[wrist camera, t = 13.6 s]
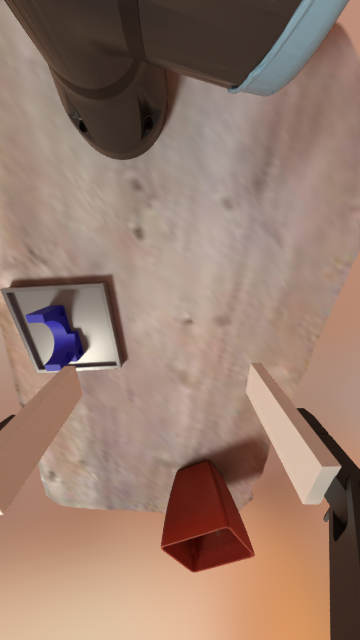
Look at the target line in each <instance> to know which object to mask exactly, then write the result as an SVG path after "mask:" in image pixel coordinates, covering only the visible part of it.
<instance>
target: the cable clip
mask: <svg viewBox="0 0 360 640" xmlns="http://www.w3.org/2000/svg"><path fill="white" fill-rule="evenodd" d="M25 316H26V319H27V322H28V323H44V324H45V325H47V326H48V327H49V328H50V330H51V332H52V334H53V337H54V350H53V353H52V356H51V358H50V359H49V361H48V362H47V363H46V364H45V365H44V366H45V368H46V371H60V370H61V369H62V368H63V367H64V366H67V365H68V364H69V363H70V362H77V361H78V360H79V359H80V358H81V357H82V356H83V355H84V351H83V348H82V344H81V341H80V337H79V333H78V331H71V330H70V326H69V323H68V319H67V316H66V312H65V309H64V306H63V305H56V306H47V307H45V308H42V309H39V310H37V311H34V312H32V313H29V314H27V315H25Z"/></svg>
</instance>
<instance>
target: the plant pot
mask: <svg viewBox="0 0 360 640" xmlns="http://www.w3.org/2000/svg"><path fill="white" fill-rule="evenodd" d="M161 549H162V550H163V551H164V552H166V553H167V554H168V555H170V556H171V557H172V558H174V559H175V560H176V561H178V562H179V563H180V564H182V565H183V566H184V567H186V568H187V569H188V570H190V571H191V572H199V571H203V570H207V569H210V568H214V567H218V566H221V565H225V564H228V563H233V562H236V561H240V560H243V559H247V558H251V557H253V556H254V555H255V554H254V551H253V548H252V545H251V542H250V540H249V537H248V534H247V531H246V529H245V527H244V524H243V521H242V519H241V516H240V514H239V511H238V509H237V507H236V505H235V502H234V500H233V498H232V496H231V494H230V491H229V489H228V487H227V485H226V483H225V481H224V479H223V477H222V476H221V475H220V473H219V472H218V471H217V469H216V468H215V467H214V465H213V464H212V463H211V461H209V460H206V461H204V462H201V463H198V464H196V465H193V466H190V467H188V468H185V469H182V470H180V471H177V473H176V476H175V479H174V482H173V486H172V490H171V493H170V498H169V502H168V506H167V511H166V516H165V522H164V528H163V535H162V542H161Z"/></svg>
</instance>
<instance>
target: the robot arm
mask: <svg viewBox="0 0 360 640" xmlns="http://www.w3.org/2000/svg"><path fill="white" fill-rule="evenodd" d="M4 1H5V2H6V3H7V5H8V6H9V8H10V9H11V11H12V12H13V14H14V15H15V17H16V18H17V20H18V21H19V22H20V24H21V25H22V27H23V28H24V30H25V31H26V33H27V34H28V36H29V37H30V38H31V40H32V41H33V43H34V44H35V46H36V47H37V49H38V50H39V52H40V53H41V55H42V56H43V57H44V59H45V60H46V62H47V63H48V66H49V69H50V71H51V74H52V77H53V80H54V83H55V85H56V88H57V91H58V94H59V97H60V99H61V102H62V104H63V107H64V109H65V111H66V113H67V114H68V116H69V118H70V120H71V121H72V123H73V124H74V126H75V127H76V129H77V130H78V131H79V132H80V134H81V135H82V136H83V138H84V139H85V140H86V141H87V142H88V143H89V144H90V145H91V146H92V147H93V148H94V149H96V150H97V151H98V152H100V153H101V154H103V155H105V156H107V157H110V158H113V159H119V160H127V159H132V158H135V157H138V156H140V155H142V154H143V153H145V152H146V151H147V150H148V149H149V148H150V147H151V146H152V145H153V144H154V142H155V141H156V139H157V138H158V136H159V134H160V132H161V130H162V127H163V124H164V120H165V116H166V110H167V80H166V70H169V71H173V72H176V73H179V74H182V75H185V76H188V77H192V78H195V79H198V80H201V81H204V82H207V83H211V84H214V85H217V86H220V87H223V88H227V90H228V92H230V93H232V94H236V93H238V92H245V93H250V94H254V95H259V96H270V95H273V94H275V93H276V92H278V91H279V90H280V89H282V88H283V87H285V86H286V85H287V84H288V83H289V82H291V81H292V80H293V79H294V77H295V76H296V75H297V74H298V73H299V72H300V71H301V69H302V68H303V67H304V66H305V65H306V63H307V62H308V61H309V59H310V58H311V57H312V55H313V54H314V53H315V51H316V50H317V49H318V47H319V46H320V44H321V43H322V41H323V40H324V39H325V37H326V36H327V34H328V33H329V31H330V30H331V28H332V27H333V25H334V24H335V22H336V20H337V19H338V17H339V15H340V14H341V12H342V11H343V9H344V8H345V6H346V4H347V3H348V1H349V0H4ZM165 69H166V70H165ZM246 393H247V395H248V397H249V399H250V401H251V403H252V405H253V407H254V409H255V411H256V413H257V415H258V417H259V419H260V421H261V423H262V425H263V426H264V428H265V430H266V432H267V434H268V436H269V438H270V440H271V442H272V444H273V446H274V448H275V450H276V452H277V454H278V456H279V458H280V460H281V462H282V464H283V466H284V468H285V470H286V471H287V473H288V475H289V477H290V479H291V481H292V483H293V485H294V487H295V489H296V491H297V493H298V495H299V497H300V499H301V501H302V503H303V504H320V503H321V501H322V500H323V498H324V497H325V498H326V500H327V502H328V503H329V505H330V507H329V509H328V511H327V512H326V514H325V516H324V521H325V522H327V521H328V520H329V554H330V555H329V559H330V630H331V631H330V634H331V640H360V469H359V468H358V467H357V466H356V465H355V464H354V462H353V461H352V460H351V459H350V458H349V457H348V455H347V454H346V453H345V452H344V451H343V450H342V449H341V447H340V446H339V445H338V444H337V443H336V441H335V440H334V439H333V438H332V437H331V436H330V435H329V434H328V432H327V431H326V430H325V429H324V428H323V427H322V425H321V424H320V423H319V421H318V420H317V419H316V418H315V417H314V416H313V415H312V414H310V413H309V412H308V411H307V410H305V409H304V408H295V406H294V405H293V404H292V402H291V401H290V400H289V398H288V397H287V396H286V395H285V393H284V392H283V391H282V390H281V388H280V387H279V386H278V384H277V383H276V382H275V381H274V379H273V378H272V377H271V375H270V374H269V373H268V372H267V370H266V369H265V368H264V367H263V365H262V364H261V363H251V366H250V372H249V377H248V383H247V388H246ZM82 395H83V393H82V390H81V386H80V383H79V379H78V375H77V372H76V368H75V366H64V367H63V368H62V369H61V370H60V371H59V372H58V373H57V374H56V375H55V376H54V377H53V378H52V379H51V380H50V381H49V382H48V383H47V384H46V385H45V386H44V387H43V388H42V389H41V390H40V391H39V392H38V393H37V394H36V395H35V396H34V397H33V398H32V399H31V400H30V401H29V402H28V403H27V404H26V405H25V406H24V408H23V409H22V410H21V411H20V412H19V413H18V414H17V415H11V416H9V417H8V418H6V419H5V420H4V421H2V422H1V423H0V515H4V513H5V512H6V511H7V509H8V507H9V506H10V504H11V503H12V501H13V500H14V498H15V497H16V495H17V494H18V492H19V491H20V489H21V488H22V486H23V485H24V483H25V482H26V480H27V479H28V477H29V476H30V474H31V473H32V471H33V470H34V468H35V467H36V465H37V464H38V462H39V460H40V459H41V457H42V456H43V454H44V453H45V451H46V450H47V448H48V447H49V445H50V444H51V442H52V441H53V439H54V438H55V436H56V435H57V433H58V432H59V430H60V429H61V427H62V426H63V424H64V423H65V421H66V420H67V418H68V417H69V415H70V413H71V412H72V410H73V409H74V407H75V406H76V404H77V403H78V401H79V400H80V398H81V397H82Z"/></svg>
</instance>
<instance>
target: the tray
mask: <svg viewBox="0 0 360 640" xmlns="http://www.w3.org/2000/svg"><path fill="white" fill-rule="evenodd" d="M0 290H1V292H2V295H3V297H4V299H5V302H6V304H7V306H8V308H9V311H10V313H11V315H12V318H13V320H14V322H15V325H16V327H17V329H18V331H19V334H20V336H21V338H22V341H23V343H24V345H25V348H26V350H27V352H28V354H29V357H30V359H31V361H32V364H33V366H34V368H35V371H36V373H47V372H59V371H46V368H45V366H44V365H45V364H46V363H47V362H48V361H49V359H50V358H51V356H52V353H53V350H54V337H53V334H52V332H51V330H50V328H49V327H48V326H47V325H45V324H44V323H28V322H27V319H26V316H25V315H27V314H29V313H32V312H34V311H37V310H39V309H42V308H45V307H47V306H56V305H63V306H64V309H65V312H66V316H67V319H68V323H69V326H70V330H71V331H78V333H79V337H80V341H81V344H82V348H83V351H84V355H83V356H82V357H81V358H80V359H79V360H78V361H77V362H70V363H69V364H68V365H67V366H75V368H76V371H82V370H99V369H117V368H121V367H122V365H123V359H122V354H121V349H120V344H119V339H118V334H117V330H116V325H115V320H114V315H113V310H112V305H111V300H110V295H109V290H108V285H107V282H97V283H78V284H59V285H41V286H22V287H8V288H3V289H0Z"/></svg>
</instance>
